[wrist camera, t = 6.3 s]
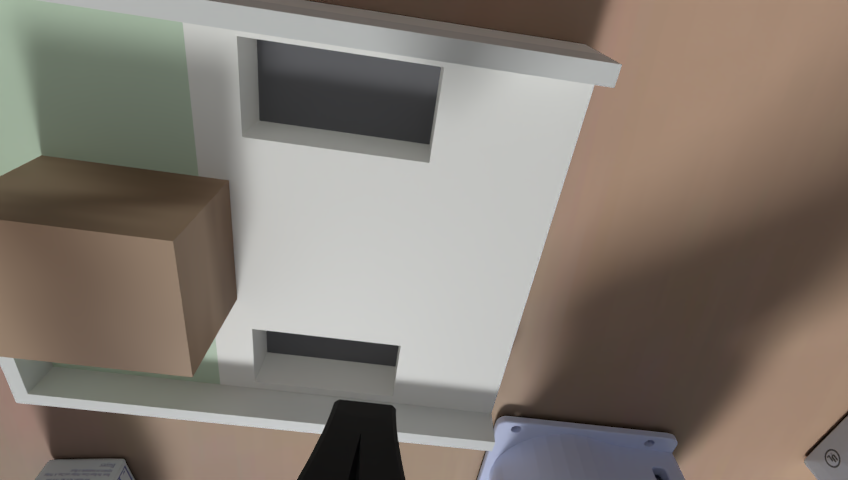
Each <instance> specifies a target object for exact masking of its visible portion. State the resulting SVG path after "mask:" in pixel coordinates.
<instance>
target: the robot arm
mask: <svg viewBox="0 0 848 480" xmlns="http://www.w3.org/2000/svg"><path fill="white" fill-rule="evenodd" d="M493 430H494V438H495V444H494V447H493V450H492V451H486V454H485V457H484V460H483V463H482V466H481V469H480V472H479V475H478V478H477V480H685V478H684V476H683V474H682V472H681V470H680V468H679V466H678V464H677V462H676V460H675V458H674V456H673V454H672V452H673V451H674V449H675V448H676V446H677V444H678V442H677V440H676V438H675V436H674V435H673V434H670V433H663V432H654V431H645V430H635V429H626V428H617V427H607V426H598V425H589V424H579V423H570V422H560V421H551V420H542V419H532V418H523V417H514V416H502V417H500V418H498V419H497V421H496V423H495V426H494V429H493ZM297 480H405V476H404V471H403V466H402V461H401V455H400V449H399V442H398V435H397V424H396V408H395V407H394V406H393V405H387V404H378V403H369V402H359V401H350V400H341V399H339V400H337V401H336V402H334V404H333V407H332V410H331V413H330V416H329V418H328V420H327V423H326V425H325V427H324V430H323V432H322V434H321V436H320V438H319V440H318V442H317V444H316V446H315V448H314V450H313V452H312V454H311V456H310V458H309V459H308V461H307V463H306V465H305V467H304V468H303V470H302V472H301V474H300V475H299V477H298V479H297Z"/></svg>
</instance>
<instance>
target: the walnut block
mask: <svg viewBox="0 0 848 480" xmlns="http://www.w3.org/2000/svg"><path fill="white" fill-rule="evenodd" d="M236 300H237V290H236V275H235V261H234V247H233V232H232V218H231V204H230V190H229V180H223V179H216V178H208V177H201V176H193V175H186V174H178V173H170V172H163V171H155V170H148V169H140V168H133V167H125V166H118V165H110V164H103V163H95V162H88V161H80V160H73V159H65V158H58V157H50V156H43V155H41V156H39V157H37V158H35V159H33V160H31V161H29V162H27V163H25V164H23V165H21V166H19V167H17V168H15V169H13V170H11V171H9V172H7V173H5V174H3V175H1V176H0V357H8V358H17V359H27V360H36V361H45V362H54V363H64V364H73V365H82V366H92V367H101V368H110V369H119V370H129V371H138V372H147V373H157V374H166V375H175V376H184V377H193V376H194V374H195V372H196V371H197V369H198V367H199V365H200V364H201V362H202V360H203V358H204V357H205V355H206V353H207V351H208V349H209V348H210V346H211V344H212V342H213V341H214V339H215V337H216V335H217V334H218V332H219V330H220V328H221V327H222V325H223V323H224V321H225V320H226V318H227V316H228V314H229V313H230V311H231V309H232V307H233V306H234V304H235V302H236Z"/></svg>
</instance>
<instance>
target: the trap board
mask: <svg viewBox="0 0 848 480" xmlns="http://www.w3.org/2000/svg"><path fill="white" fill-rule="evenodd" d="M621 66H622V64H620V63H618V62H616V61H614V60H613V59H611V58H609V57H607V56H605V55H604V54H602V53H600V52H598V51H596V50H594V49H593V48H591V47H589V46H587V45H585V44H580V43H574V42H568V41H561V40H555V39H549V38H542V37H536V36H529V35H523V34H517V33H510V32H504V31H498V30H491V29H485V28H478V27H472V26H466V25H459V24H453V23H447V22H440V21H434V20H427V19H421V18H415V17H408V16H402V15H396V14H389V13H383V12H376V11H370V10H364V9H357V8H351V7H345V6H338V5H332V4H325V3H319V2H313V1H306V0H0V176H1V175H3V174H5V173H7V172H9V171H11V170H13V169H15V168H17V167H19V166H21V165H23V164H25V163H27V162H29V161H31V160H33V159H35V158H37V157H39V156H41V155H43V156H50V157H58V158H65V159H73V160H80V161H88V162H95V163H103V164H110V165H118V166H125V167H133V168H140V169H148V170H155V171H163V172H170V173H178V174H186V175H193V176H201V177H208V178H216V179H223V180H229V190H230V204H231V218H232V232H233V247H234V261H235V275H236V290H237V300H236V302H235V304H234V306H233V307H232V309H231V311H230V313H229V314H228V316H227V318H226V320H225V321H224V323H223V325H222V327H221V328H220V330H219V332H218V334H217V335H216V337H215V339H214V341H213V342H212V344H211V346H210V348H209V349H208V351H207V353H206V355H205V357H204V358H203V360H202V362H201V364H200V365H199V367H198V369H197V371H196V372H195V374H194V376H193V377H184V376H175V375H166V374H157V373H147V372H138V371H129V370H119V369H110V368H101V367H92V366H82V365H73V364H64V363H54V362H45V361H36V360H27V359H17V358H8V357H0V365H1V368H2V370H3V372H4V375H5V377H6V379H7V382H8V384H9V387H10V389H11V391H12V394H13V396H14V398H15V401H16V403H24V404H33V405H43V406H53V407H63V408H73V409H82V410H92V411H102V412H112V413H122V414H131V415H141V416H151V417H161V418H171V419H180V420H190V421H200V422H210V423H220V424H229V425H239V426H249V427H259V428H269V429H278V430H288V431H298V432H308V433H318V434H322V432H323V430H324V427H325V425H326V423H327V420H328V418H329V416H330V413H331V410H332V407H333V404H334V402H336V401H337V400H339V399H341V400H350V401H359V402H369V403H378V404H387V405H393V406H394V407H395V408H396V424H397V435H398V442H406V443H416V444H426V445H435V446H445V447H455V448H465V449H475V450H484V451H492V450H493V447H494V444H495V438H494V430H493V423H492V415H491V413H492V409H493V406H494V403H495V400H496V397H497V393H498V390H499V387H500V384H501V381H502V378H503V374H504V371H505V368H506V365H507V362H508V358H509V355H510V352H511V349H512V346H513V343H514V339H515V336H516V333H517V330H518V327H519V323H520V320H521V317H522V314H523V311H524V308H525V304H526V301H527V298H528V295H529V292H530V289H531V285H532V282H533V279H534V276H535V273H536V269H537V266H538V263H539V260H540V257H541V254H542V250H543V247H544V244H545V241H546V238H547V234H548V231H549V228H550V225H551V222H552V219H553V215H554V212H555V209H556V206H557V203H558V199H559V196H560V193H561V190H562V187H563V184H564V180H565V177H566V174H567V171H568V168H569V164H570V161H571V158H572V155H573V152H574V149H575V145H576V142H577V139H578V136H579V133H580V130H581V126H582V123H583V120H584V117H585V114H586V110H587V107H588V104H589V101H590V98H591V95H592V91H593V88H594V85H599V86H605V87H612V88H614V87H615V84H616V81H617V78H618V75H619V72H620V69H621Z"/></svg>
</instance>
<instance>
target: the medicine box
mask: <svg viewBox="0 0 848 480" xmlns="http://www.w3.org/2000/svg"><path fill="white" fill-rule="evenodd" d="M35 480H135V479H134V477H133V475H132V473H131V472H130V470H129V468H128V466H127V464H126V461H125V459H112V458H100V459H56V460H50V461H49V462H47V464H46V465H45V466H44V468H43V469H42V471H41V472H40V473H39V475H38V476H37V477H36V479H35Z"/></svg>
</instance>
